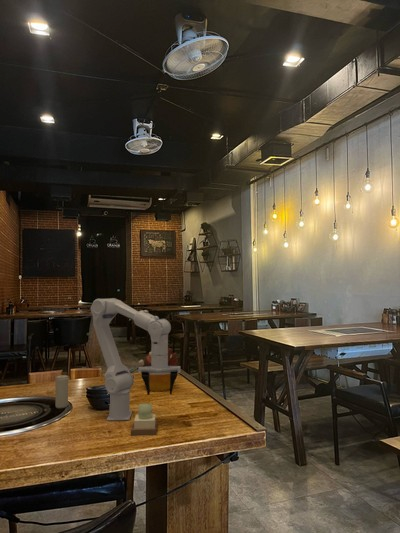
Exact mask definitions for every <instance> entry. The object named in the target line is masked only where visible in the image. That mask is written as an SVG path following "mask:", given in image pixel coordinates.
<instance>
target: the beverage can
mask: <svg viewBox="0 0 400 533" xmlns="http://www.w3.org/2000/svg"><path fill="white" fill-rule="evenodd" d="M54 399H55V408H56V409H64V408H67V407H68V405H69V376H68V375H66V374H63V375H57V376H56V377H55V398H54Z"/></svg>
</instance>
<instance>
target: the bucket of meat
mask: <svg viewBox="0 0 400 533" xmlns="http://www.w3.org/2000/svg"><path fill="white" fill-rule="evenodd" d="M172 352H173V350H172V348H170V347H168V366H178V364H179V361H178V359H177V356H178V355H177V352H173V353H172ZM138 365H141V367H147V366H151V351H149V352H148V354H147V355H146V356H145V357H144V360H143V359H140V360H138ZM149 387H150V392H155V391H160V392H166V391H165V390H167V391H170V373H149ZM155 393H156V392H155Z"/></svg>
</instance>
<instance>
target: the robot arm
mask: <svg viewBox="0 0 400 533" xmlns="http://www.w3.org/2000/svg"><path fill="white" fill-rule="evenodd" d="M89 309H90V312H91V315H92V325H93V329H94V332H95V335H96V338H97V341H98V344H99V347H100V350H101V353H102V357H103V359H104V362H105V366H106V367H107V368H106V369H107V370H106V372H105V373H104V376H103V377H104V386H105V389H106V392H107V395H108V394H110V404H109V409H108V410H109V413H108V416H107V418H106V421H130V418H131V416H132V413H133V411H132V410H130V399H131V398H130V397H131V396H130V393H131V392H130V391H131V388H132V387H133V386H134V381H135V380H134V376H133V374H132V373H131V372H130V370H129V368H128V366H126V365H125V364H123V363H122V360H121V357H120V355H119V354H120V353H119V350H118V348H117V344H116V342H115V339H114V337H113V336H114V335H113V332H112V331H111V328H110V325H111V324H110V323H111V321H112V320H113V319H114V318H115V317H116V316H117V314H120V315H122V316H124V317H127V318H129V319H131V320H133V323H134V325H135V326H137V327H138V328H141V329H143V330H145V331H146V332H148V334H149V336H150V340H151V349H150V350H151V351H150V352H151V366H147V367H142V366H139V367H138V368H137V370H138V372H137V373H138V375H139V374H141V376H140V377H141V379H142V380H143V384H144V385H145V389H146V393H147V396H149V395H150V394H151V391H150V387H149V373H170V389H169V395H172V394H173V388H174V385H175V382H176V379H177V377H178V374H181V371H182V370H181V366H180V365H179V366H178V365H176V366H168V349H169V346H168V345H169V333H170V332H171V330H172V326H171V323H170V321H168V320H167V318H159V316H157V315H153V314H151V313H149V310H147V309H145V310H139V311H138V310H137V309H135V308H133V307H131V306H130V305H128V304H126V303H124V302H123V301H122V300H120V299H117V298H115V297H112V298H95V300H93V302H92V304H91V306H90V308H89Z"/></svg>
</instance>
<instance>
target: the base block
mask: <svg viewBox="0 0 400 533" xmlns="http://www.w3.org/2000/svg"><path fill="white" fill-rule="evenodd" d="M157 431H158V420H155V428H145V429H134V421H133V423H132V426H131V429H130V436H131V437H133V436H134V437H138V436H142V437H143V436H144V437H145V436H157Z"/></svg>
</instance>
